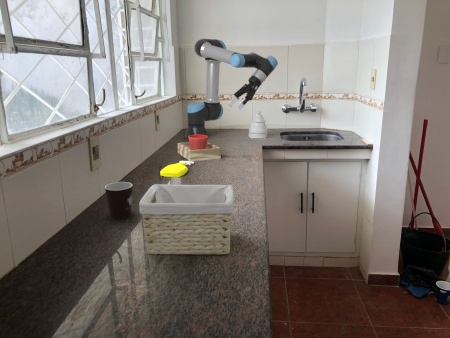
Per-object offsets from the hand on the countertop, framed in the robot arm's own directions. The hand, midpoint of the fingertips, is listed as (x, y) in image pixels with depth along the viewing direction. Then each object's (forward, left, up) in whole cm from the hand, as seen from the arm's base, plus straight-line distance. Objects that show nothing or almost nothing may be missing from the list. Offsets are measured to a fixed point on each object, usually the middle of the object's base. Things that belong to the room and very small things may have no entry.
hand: (233, 107), depth 212 cm
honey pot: (-28, +32, -25) cm, 49 cm away
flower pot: (+8, -25, -24) cm, 36 cm away
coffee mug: (+77, -76, -25) cm, 111 cm away
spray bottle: (+32, -44, -25) cm, 60 cm away
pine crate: (+8, -25, -25) cm, 36 cm away
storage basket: (+106, -63, -25) cm, 125 cm away
